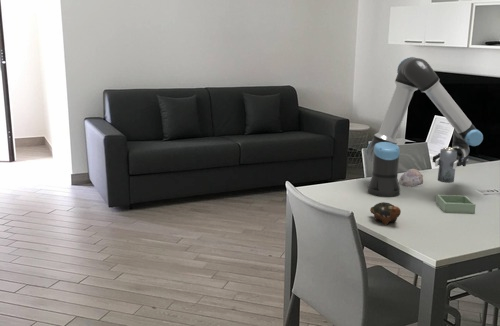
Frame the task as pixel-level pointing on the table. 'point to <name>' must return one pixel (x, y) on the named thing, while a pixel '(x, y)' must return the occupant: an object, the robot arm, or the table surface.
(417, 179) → the stone
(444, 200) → the bin
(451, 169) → the can
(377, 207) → the decorative turtle
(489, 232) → the table surface
